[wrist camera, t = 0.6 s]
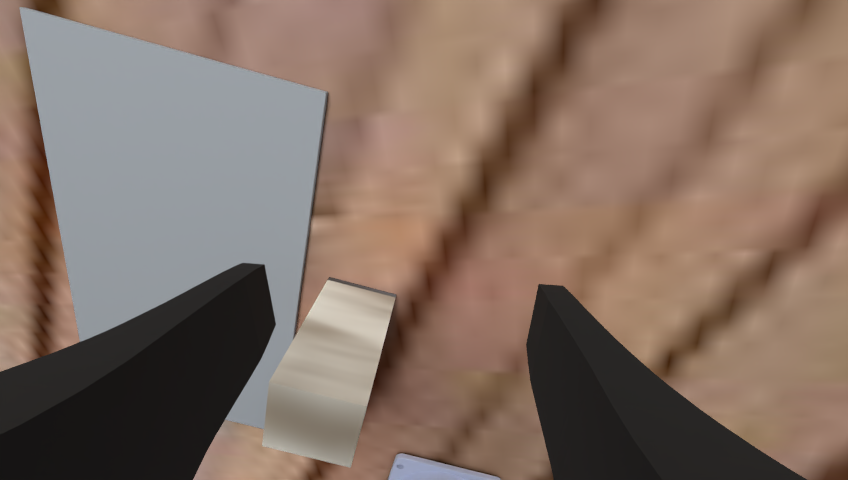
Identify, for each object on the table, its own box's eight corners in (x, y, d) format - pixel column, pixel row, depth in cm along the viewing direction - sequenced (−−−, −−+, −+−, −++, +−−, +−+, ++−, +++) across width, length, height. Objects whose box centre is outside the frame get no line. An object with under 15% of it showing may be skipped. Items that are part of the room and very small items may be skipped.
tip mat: (282, 429, 29) (280, 433, 29) (91, 382, 28) (87, 385, 28) (328, 92, 18) (326, 92, 18) (26, 7, 18) (19, 7, 18)
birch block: (382, 346, 25) (350, 467, 18) (320, 330, 25) (262, 445, 17) (396, 294, 23) (367, 406, 16) (329, 277, 23) (269, 382, 16)
